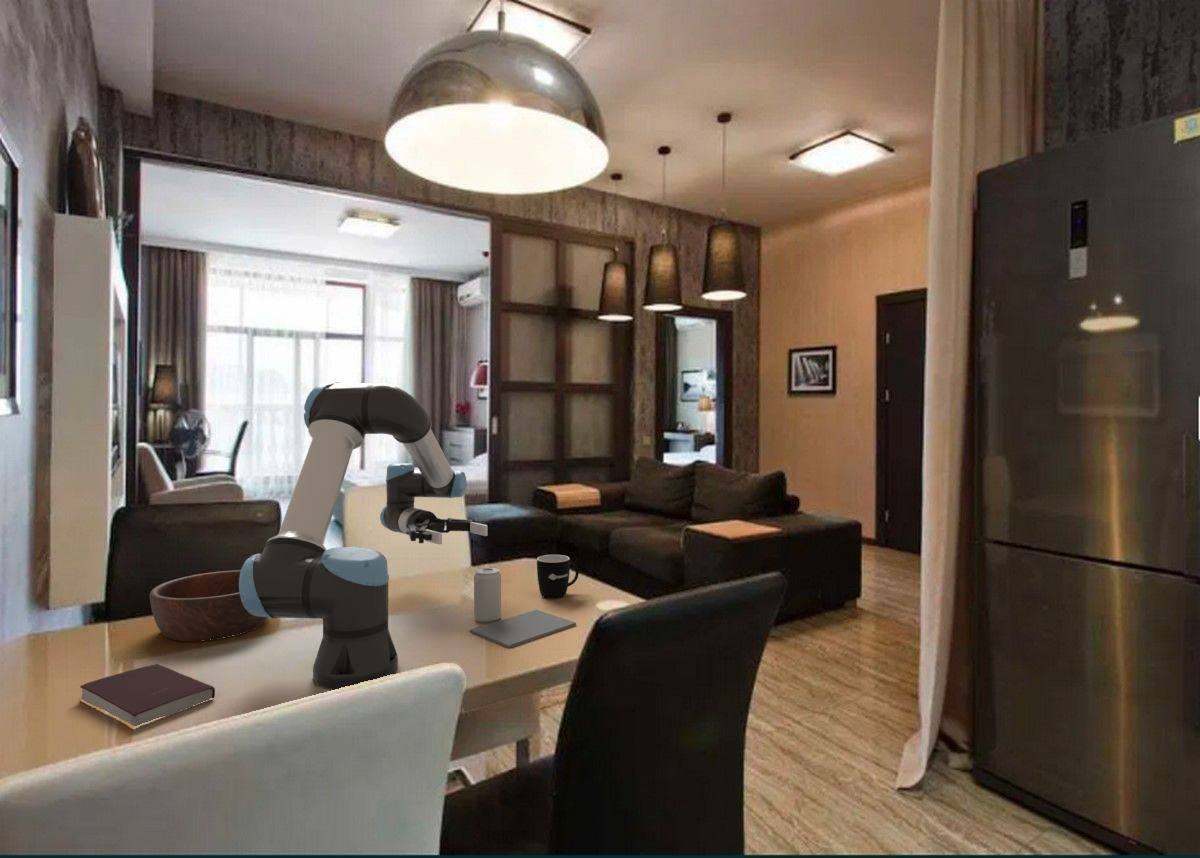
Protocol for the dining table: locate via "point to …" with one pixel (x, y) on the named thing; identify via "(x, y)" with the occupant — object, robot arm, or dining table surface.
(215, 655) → the dining table surface
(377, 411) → the robot arm
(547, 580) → the mug
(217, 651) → the dining table surface
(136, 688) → the book
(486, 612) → the beverage can
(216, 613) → the wooden bowl
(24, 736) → the dining table surface
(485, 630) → the mat
